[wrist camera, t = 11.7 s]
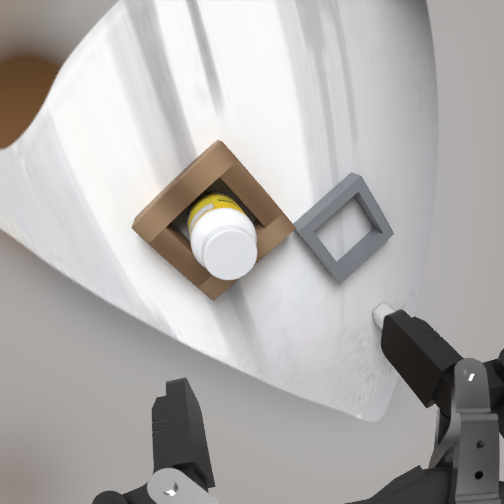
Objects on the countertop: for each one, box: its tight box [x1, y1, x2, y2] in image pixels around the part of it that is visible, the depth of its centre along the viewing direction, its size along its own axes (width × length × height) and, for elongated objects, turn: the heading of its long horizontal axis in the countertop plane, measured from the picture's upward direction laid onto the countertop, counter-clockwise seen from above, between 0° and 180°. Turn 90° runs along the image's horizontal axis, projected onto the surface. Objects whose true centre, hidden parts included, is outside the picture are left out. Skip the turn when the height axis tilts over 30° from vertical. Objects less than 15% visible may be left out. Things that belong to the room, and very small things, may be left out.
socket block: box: [132, 140, 296, 301], centre depth 30 cm, size 11×11×3 cm
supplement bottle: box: [187, 192, 257, 280], centre depth 27 cm, size 5×5×10 cm
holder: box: [293, 173, 394, 283], centre depth 34 cm, size 9×9×2 cm
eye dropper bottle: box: [373, 303, 396, 330], centre depth 38 cm, size 4×6×12 cm
